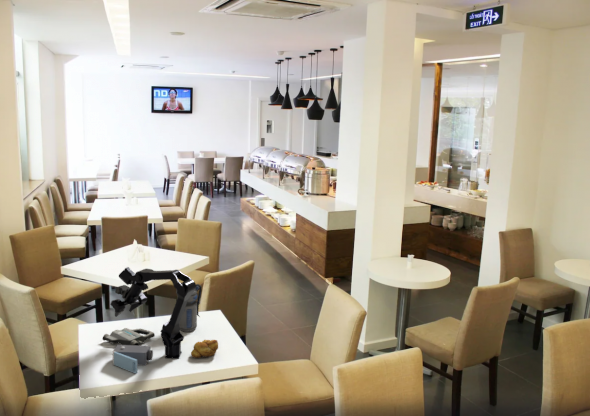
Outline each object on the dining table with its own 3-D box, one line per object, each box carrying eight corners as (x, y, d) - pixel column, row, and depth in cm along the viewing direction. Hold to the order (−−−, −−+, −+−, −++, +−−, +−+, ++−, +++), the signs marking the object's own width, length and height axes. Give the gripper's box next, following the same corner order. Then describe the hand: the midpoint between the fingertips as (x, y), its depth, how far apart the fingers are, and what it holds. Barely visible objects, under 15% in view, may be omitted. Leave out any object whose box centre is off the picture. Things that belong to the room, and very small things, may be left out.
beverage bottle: (203, 330, 266) (203, 285, 262) (178, 334, 260) (178, 288, 256) (198, 323, 275) (199, 279, 271) (174, 326, 269) (174, 282, 265)
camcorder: (136, 351, 239) (136, 341, 239) (101, 343, 246) (101, 333, 245) (156, 338, 255) (156, 329, 254) (122, 331, 261) (122, 322, 260)
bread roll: (193, 361, 232) (193, 345, 231) (187, 352, 240) (187, 337, 239) (219, 356, 238) (220, 341, 237) (213, 348, 246) (213, 333, 245)
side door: (137, 372, 219) (137, 359, 218) (134, 374, 218) (134, 361, 217) (114, 363, 226) (114, 350, 225) (111, 364, 225) (111, 352, 224)
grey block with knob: (153, 358, 234) (153, 344, 232) (149, 365, 227) (149, 351, 226) (118, 356, 233) (117, 343, 232) (112, 364, 226) (112, 350, 225)
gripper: (139, 275, 252) (127, 298, 258) (109, 283, 236) (97, 307, 241) (153, 290, 248) (140, 312, 254) (124, 299, 232) (111, 323, 237)
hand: (122, 313), depth 247 cm, fingers open, 9 cm apart
